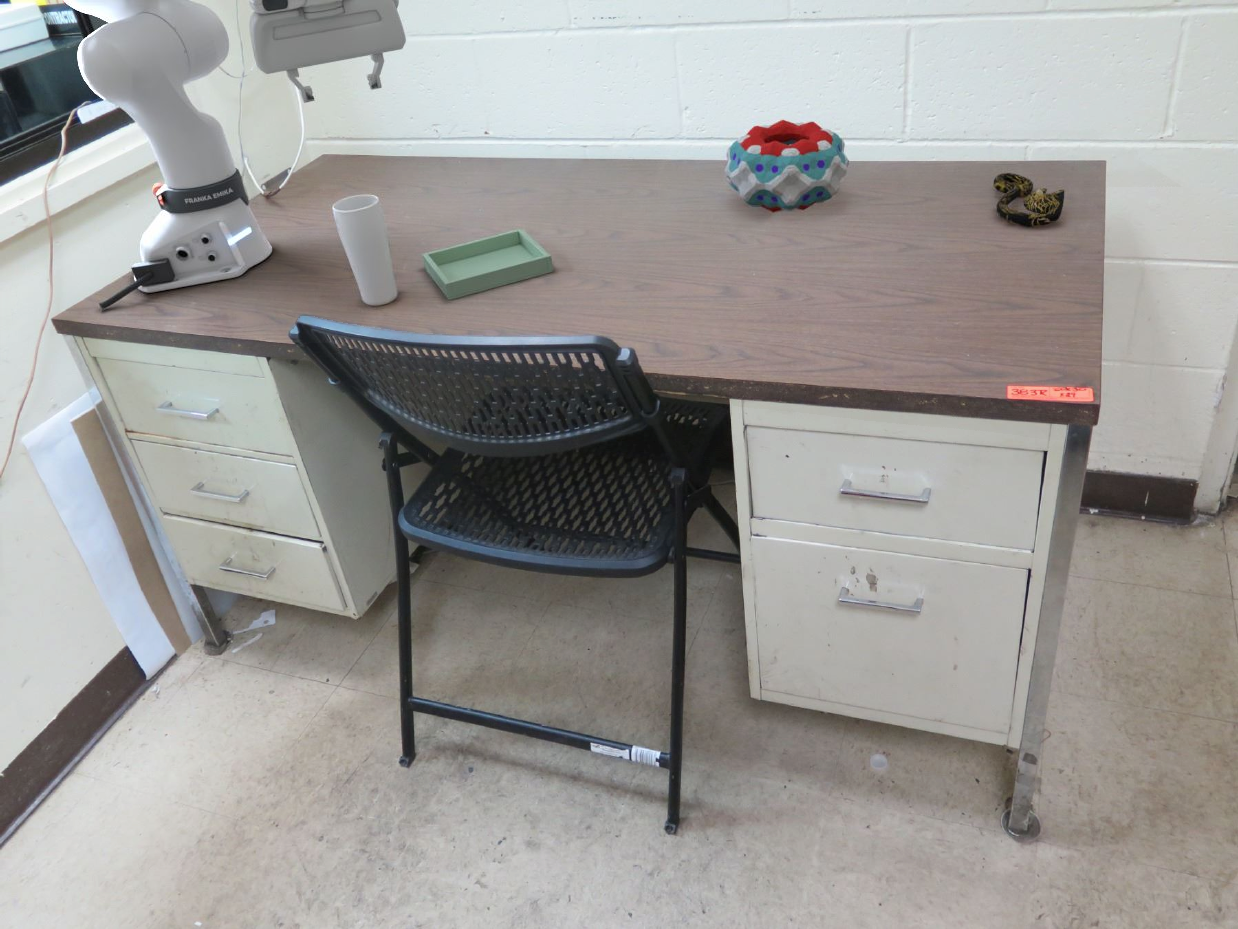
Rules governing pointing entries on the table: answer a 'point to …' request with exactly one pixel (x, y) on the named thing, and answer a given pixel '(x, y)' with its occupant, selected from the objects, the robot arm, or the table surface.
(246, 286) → the table surface
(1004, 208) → the rubber snake
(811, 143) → the decorative model
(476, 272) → the tray
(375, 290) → the drinking glass
